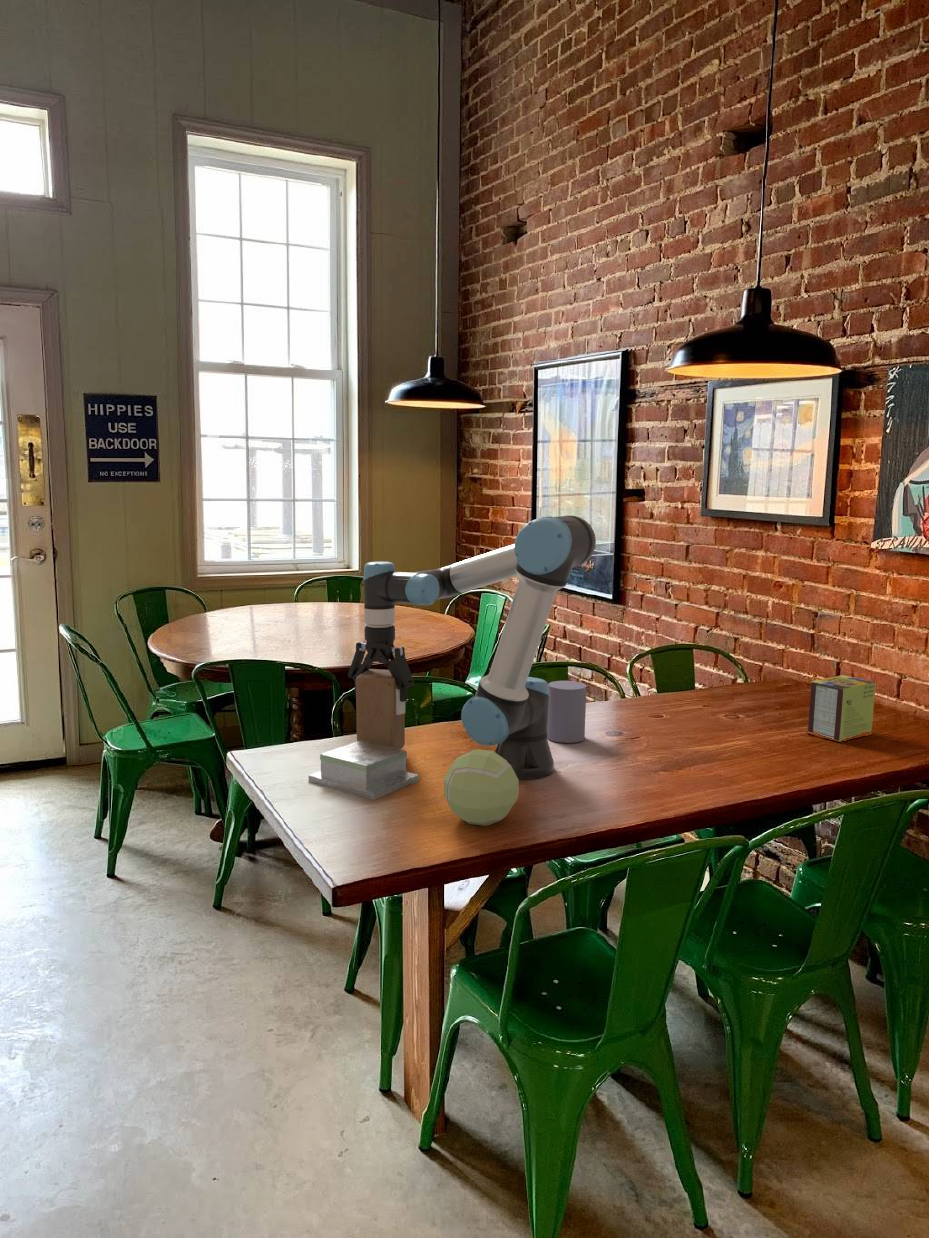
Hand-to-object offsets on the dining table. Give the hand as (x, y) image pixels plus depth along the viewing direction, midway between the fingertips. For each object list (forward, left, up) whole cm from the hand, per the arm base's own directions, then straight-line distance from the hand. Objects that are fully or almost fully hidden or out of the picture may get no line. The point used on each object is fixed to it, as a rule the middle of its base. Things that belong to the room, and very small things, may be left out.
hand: (380, 710), depth 233 cm
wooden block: (0, 0, -11) cm, 11 cm away
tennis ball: (-44, +19, -13) cm, 49 cm away
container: (-28, -45, -13) cm, 54 cm away
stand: (-8, +15, -13) cm, 21 cm away
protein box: (-87, -96, -13) cm, 130 cm away
